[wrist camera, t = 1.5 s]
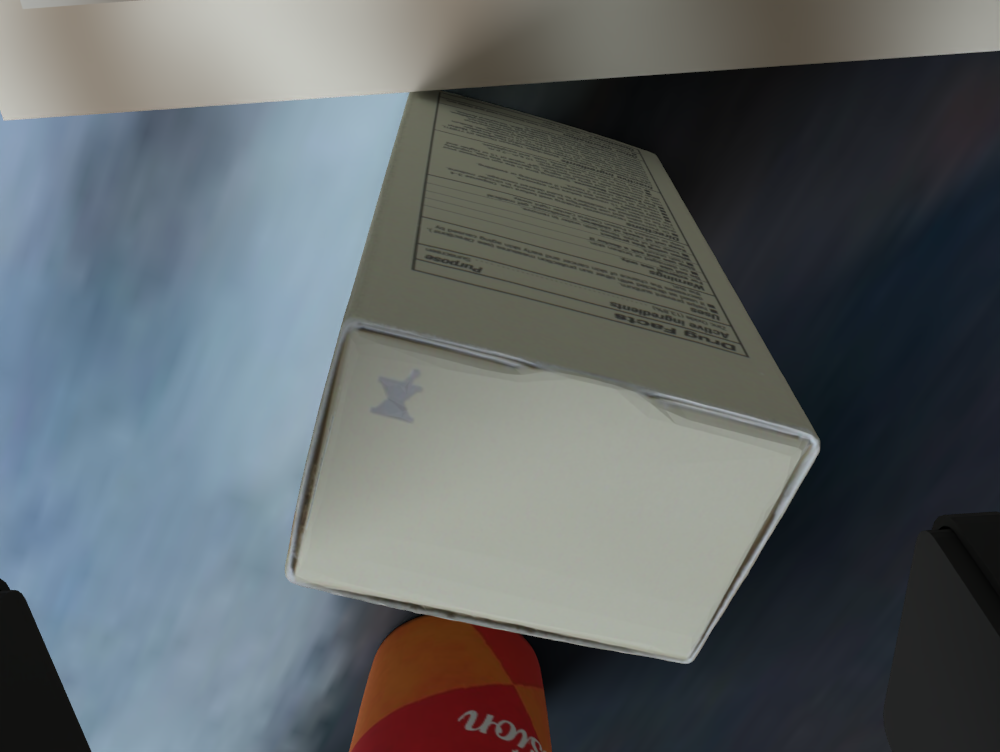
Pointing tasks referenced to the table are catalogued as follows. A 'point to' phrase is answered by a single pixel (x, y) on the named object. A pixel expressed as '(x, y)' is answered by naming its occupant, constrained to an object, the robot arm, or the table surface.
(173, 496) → the table surface
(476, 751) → the paper cup
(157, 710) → the table surface
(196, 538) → the table surface
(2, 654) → the robot arm
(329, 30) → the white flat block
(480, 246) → the skincare box
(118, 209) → the table surface
